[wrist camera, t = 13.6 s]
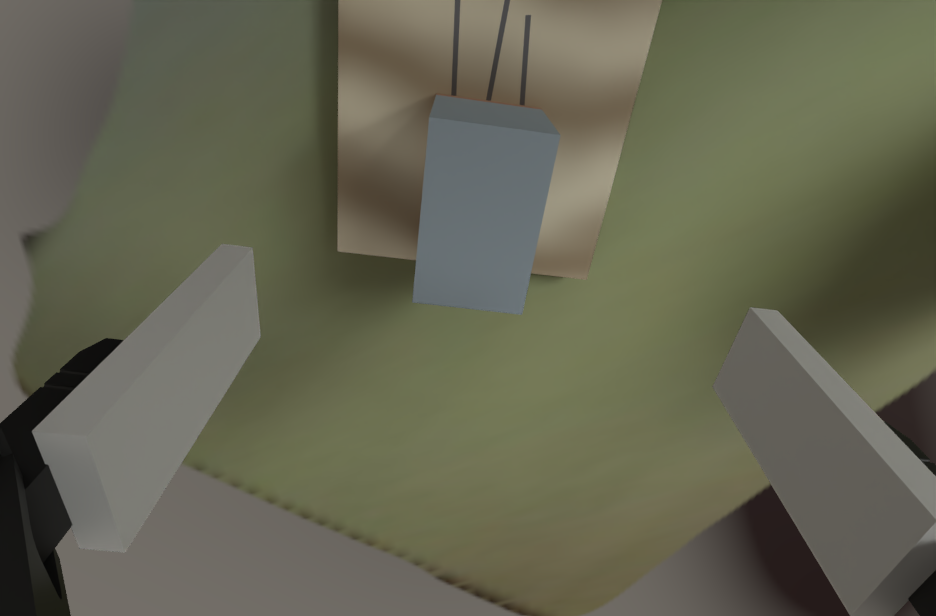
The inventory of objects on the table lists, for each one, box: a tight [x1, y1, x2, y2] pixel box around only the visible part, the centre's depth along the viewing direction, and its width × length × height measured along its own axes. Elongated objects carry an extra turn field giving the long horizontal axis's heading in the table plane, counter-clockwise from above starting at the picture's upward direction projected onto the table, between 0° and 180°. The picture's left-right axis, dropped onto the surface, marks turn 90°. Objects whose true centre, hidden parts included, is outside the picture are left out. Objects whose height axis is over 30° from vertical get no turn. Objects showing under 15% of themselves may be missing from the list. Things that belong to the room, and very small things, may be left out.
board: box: [337, 0, 662, 280], centre depth 25 cm, size 19×14×2 cm
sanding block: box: [412, 93, 560, 315], centre depth 24 cm, size 8×5×6 cm, turn 172°
